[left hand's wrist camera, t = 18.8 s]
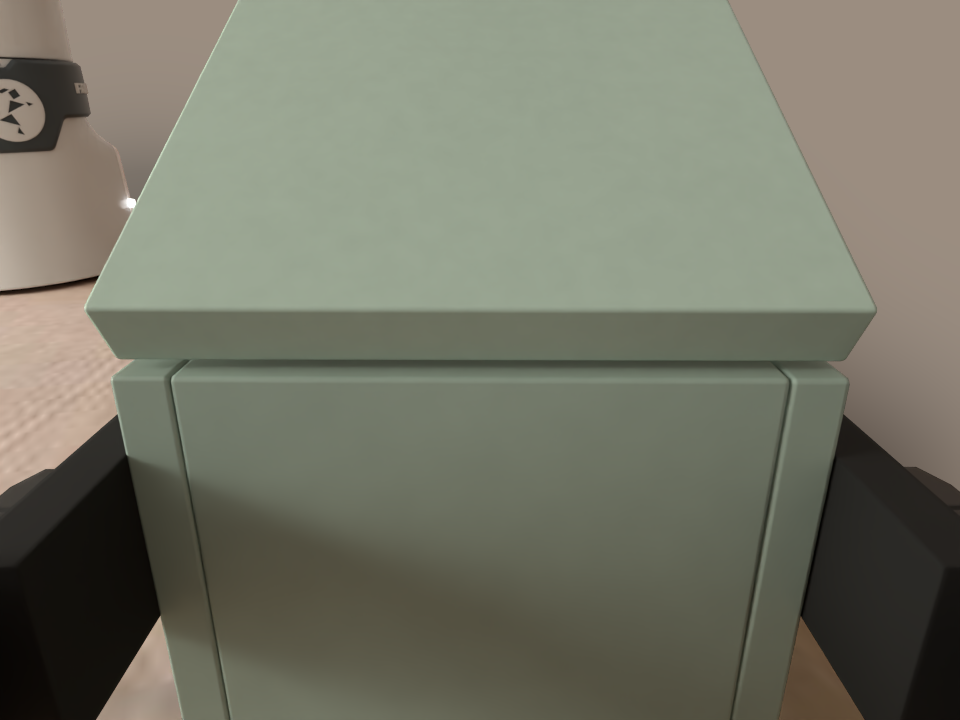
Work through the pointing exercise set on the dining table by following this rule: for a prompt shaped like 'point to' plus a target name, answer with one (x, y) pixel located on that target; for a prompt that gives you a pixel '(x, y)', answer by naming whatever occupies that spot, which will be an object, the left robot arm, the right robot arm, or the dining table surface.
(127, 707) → the dining table surface
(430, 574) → the chest
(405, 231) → the lid
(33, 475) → the left robot arm
